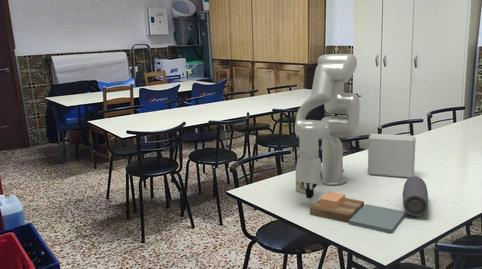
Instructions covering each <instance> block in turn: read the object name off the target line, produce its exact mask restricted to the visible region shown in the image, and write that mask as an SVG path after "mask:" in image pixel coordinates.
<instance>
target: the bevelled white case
mask: <svg viewBox="0 0 482 269" xmlns="http://www.w3.org/2000/svg"><path fill="white" fill-rule="evenodd" d="M416 139H417V138H416V137H415V136H414V135H412V134H411V135H409V134H408V135H407V134H386V133H385V134H384V133H371V134H370V135H369V136H368V145H367V146H368V150H367V151H368V152H367V154H368V156H367V174H369V175H370V176H379V177H380V176H382V177H391V178H392V177H394V178H401V179H402V178H403V179H408V178H410V177H414V176H415V164H416V163H415V162H416V161H415V160H416V158H415V157H416Z"/></svg>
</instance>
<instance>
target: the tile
mask: <svg viewBox="0 0 482 269" xmlns="http://www.w3.org/2000/svg"><path fill="white" fill-rule="evenodd" d="M345 198H346V193H341V192H334V191H327V192H326V193H325V194H324V195H322V196H321V197H320V198H319V200H320V206H324V207H329V208H334V209H337V208H338V207H339V206H340V205H341V204H343V203H344V202H345Z"/></svg>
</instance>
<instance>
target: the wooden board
mask: <svg viewBox="0 0 482 269" xmlns="http://www.w3.org/2000/svg"><path fill="white" fill-rule="evenodd" d="M364 205H365V201H364V200H360V199H353V198H348V197H345V202H344V203H343V204H341V205H340V206H339V207H338V208H337V209H334V208H329V207H324V206H320V199H319V200H317V201H316V202H315V203H314V204H312V205H311V206H310V207H309V215H310V216H316V217H320V218H323V219H329V220H332V221H338V222H342V223H347V224H349V220H350V219H351V218H352V217H353V216H354V215H355V214H356V213H357V212H358V211H359V210H360V209H361V208H362V207H363V206H364Z"/></svg>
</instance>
